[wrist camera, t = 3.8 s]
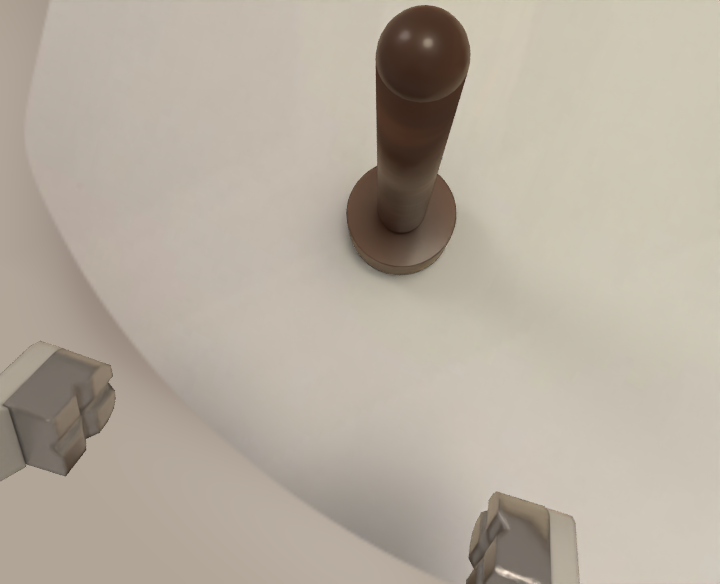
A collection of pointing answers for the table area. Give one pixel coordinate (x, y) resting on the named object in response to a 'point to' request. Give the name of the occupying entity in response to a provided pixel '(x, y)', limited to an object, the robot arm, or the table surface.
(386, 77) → the wooden tamper
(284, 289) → the table surface
